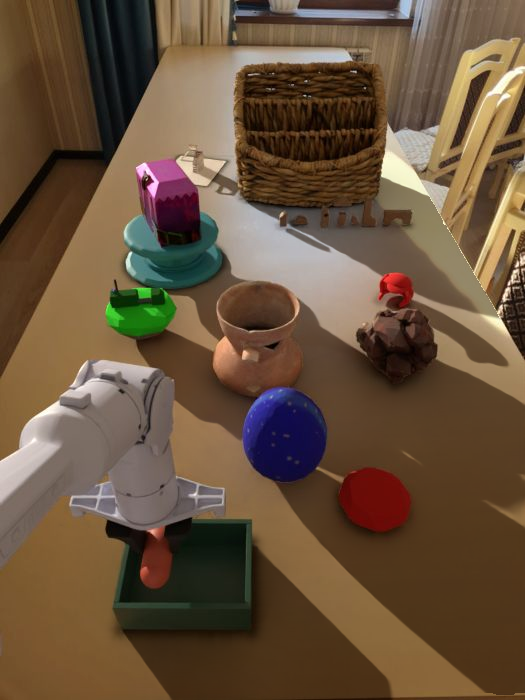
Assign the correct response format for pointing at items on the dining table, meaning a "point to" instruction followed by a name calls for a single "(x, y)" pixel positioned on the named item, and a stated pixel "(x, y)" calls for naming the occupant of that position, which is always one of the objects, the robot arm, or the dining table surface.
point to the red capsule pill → (156, 559)
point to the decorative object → (170, 230)
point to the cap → (397, 286)
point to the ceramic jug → (257, 338)
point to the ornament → (284, 435)
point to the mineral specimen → (398, 342)
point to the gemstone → (375, 499)
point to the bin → (193, 582)
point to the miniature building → (139, 311)
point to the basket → (309, 132)
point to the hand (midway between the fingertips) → (159, 545)
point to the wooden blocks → (366, 216)
